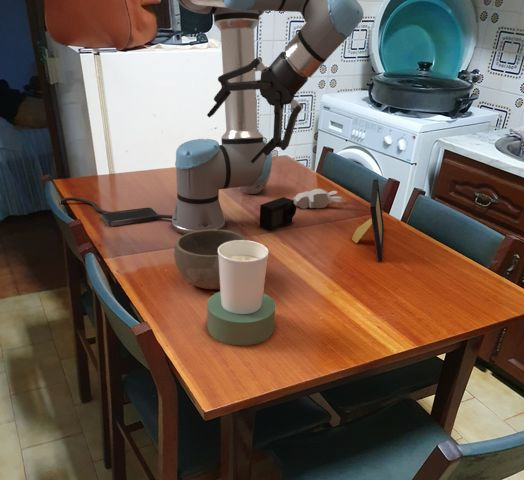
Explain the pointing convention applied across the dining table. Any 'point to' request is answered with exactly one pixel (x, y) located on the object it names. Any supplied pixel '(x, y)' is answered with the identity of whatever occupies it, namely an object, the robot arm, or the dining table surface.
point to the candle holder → (242, 275)
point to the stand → (240, 322)
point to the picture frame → (373, 222)
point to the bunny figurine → (315, 198)
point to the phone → (129, 216)
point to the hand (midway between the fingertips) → (231, 138)
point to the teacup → (255, 187)
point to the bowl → (202, 256)
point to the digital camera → (276, 213)
